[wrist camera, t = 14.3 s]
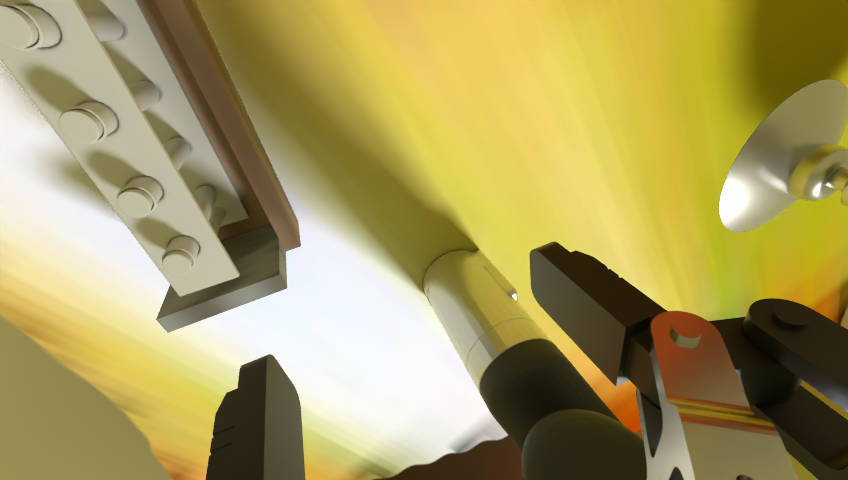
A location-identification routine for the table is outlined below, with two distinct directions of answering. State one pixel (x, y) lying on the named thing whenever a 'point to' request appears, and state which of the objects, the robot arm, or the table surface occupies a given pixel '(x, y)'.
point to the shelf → (245, 163)
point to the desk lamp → (790, 158)
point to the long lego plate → (127, 127)
